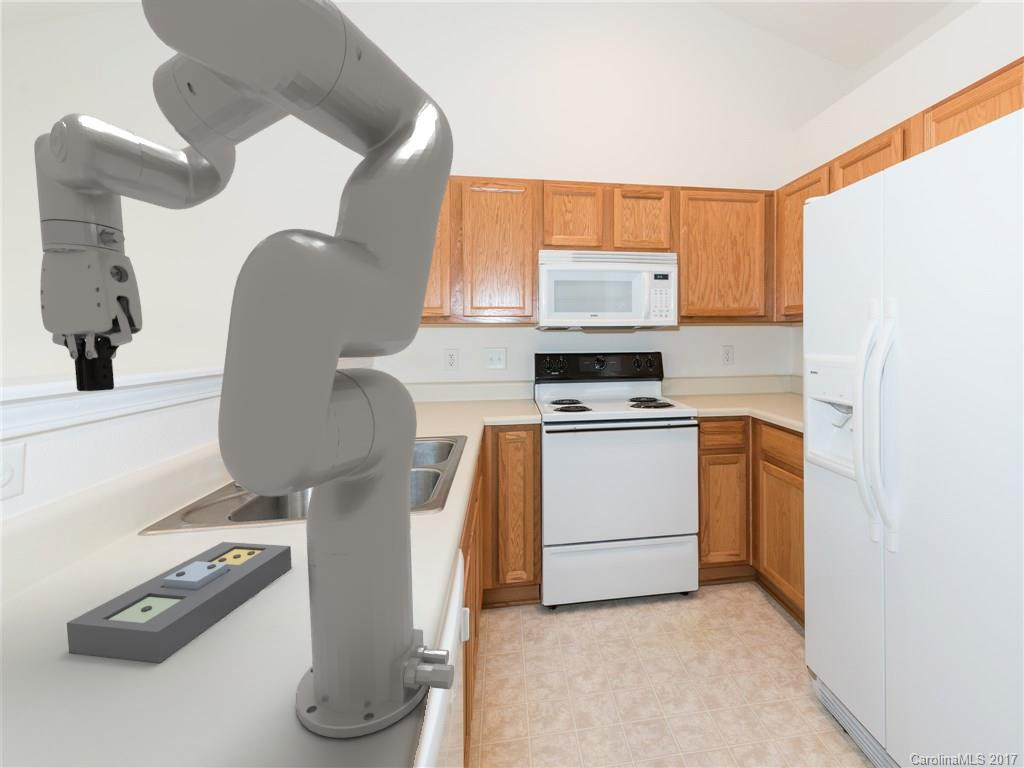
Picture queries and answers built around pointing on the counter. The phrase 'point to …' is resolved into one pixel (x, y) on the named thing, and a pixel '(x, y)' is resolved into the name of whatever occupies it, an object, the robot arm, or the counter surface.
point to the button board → (176, 607)
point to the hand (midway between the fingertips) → (96, 390)
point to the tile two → (195, 575)
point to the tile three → (237, 556)
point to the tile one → (145, 609)
